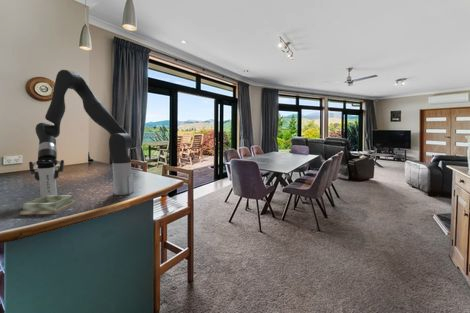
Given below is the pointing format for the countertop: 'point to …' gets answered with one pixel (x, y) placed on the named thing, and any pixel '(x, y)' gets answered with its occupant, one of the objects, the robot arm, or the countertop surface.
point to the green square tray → (48, 204)
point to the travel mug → (47, 178)
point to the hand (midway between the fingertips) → (46, 178)
